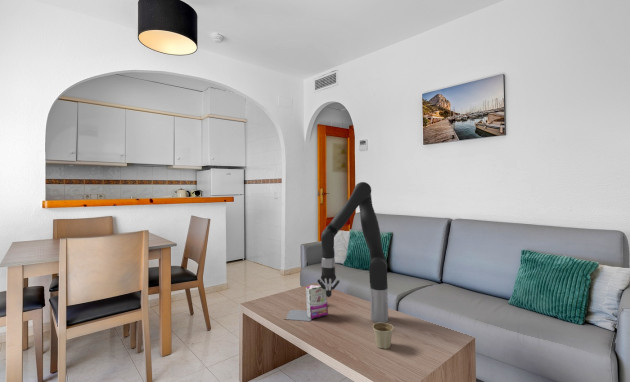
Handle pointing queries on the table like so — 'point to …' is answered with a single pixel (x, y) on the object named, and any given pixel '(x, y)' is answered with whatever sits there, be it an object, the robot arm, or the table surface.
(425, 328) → the table surface
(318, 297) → the candy bar box
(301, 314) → the mat
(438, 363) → the table surface
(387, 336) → the flower pot
